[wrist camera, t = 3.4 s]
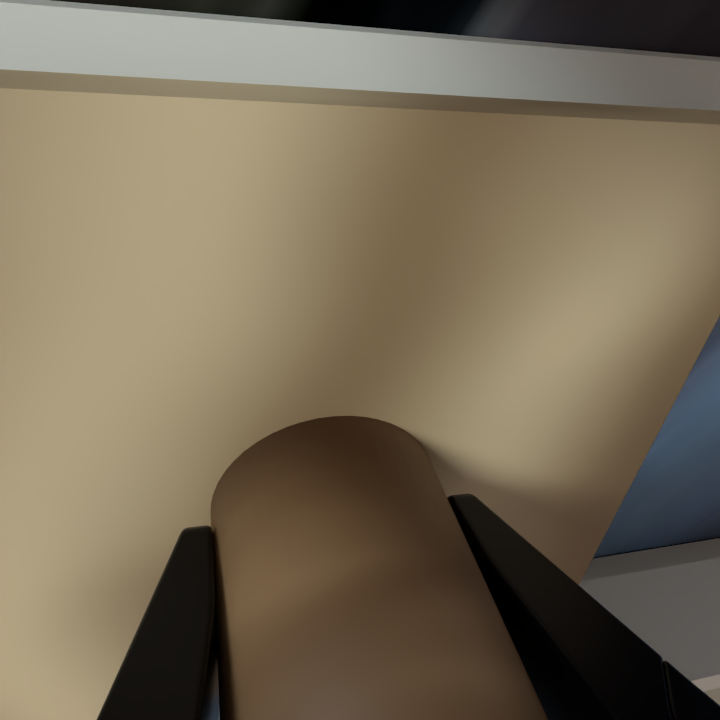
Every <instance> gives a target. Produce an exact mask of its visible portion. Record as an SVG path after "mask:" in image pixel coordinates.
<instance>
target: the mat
mask: <svg viewBox="0 0 720 720" xmlns="http://www.w3.org/2000/svg"><path fill="white" fill-rule="evenodd" d="M0 69H5V70H23V71H40V72H57V73H75V74H92V75H109V76H127V77H144V78H161V79H179V80H196V81H213V82H231V83H248V84H265V85H283V86H300V87H317V88H334V89H352V90H369V91H386V92H404V93H421V94H438V95H456V96H473V97H490V98H508V99H525V100H542V101H560V102H577V103H594V104H612V105H629V106H646V107H664V108H681V109H698V110H716V111H720V57H712V56H700V55H688V54H676V53H665V52H653V51H641V50H629V49H617V48H606V47H594V46H582V45H570V44H558V43H547V42H535V41H523V40H511V39H500V38H488V37H476V36H464V35H452V34H441V33H429V32H417V31H405V30H393V29H382V28H370V27H358V26H346V25H335V24H323V23H311V22H299V21H287V20H276V19H264V18H252V17H240V16H228V15H217V14H205V13H193V12H181V11H170V10H158V9H146V8H134V7H122V6H111V5H99V4H87V3H75V2H63V1H52V0H0Z"/></svg>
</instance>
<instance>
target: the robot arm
mask: <svg viewBox="0 0 720 720" xmlns="http://www.w3.org/2000/svg"><path fill="white" fill-rule="evenodd" d="M447 499H448V501H449V503H450V505H451V508H452V510H453V512H454V514H455V516H456V519H457V521H458V523H459V525H460V527H461V529H462V532H463V534H464V536H465V538H466V540H467V543H468V545H469V547H470V549H471V551H472V554H473V556H474V558H475V560H476V562H477V565H478V567H479V569H480V571H481V573H482V575H483V578H484V580H485V582H486V584H487V586H488V589H489V591H490V593H491V595H492V597H493V600H494V602H495V604H496V606H497V608H498V610H499V613H500V615H501V617H502V619H503V621H504V624H505V626H506V628H507V630H508V632H509V635H510V637H511V639H512V641H513V643H514V646H515V648H516V650H517V652H518V654H519V656H520V659H521V661H522V663H523V665H524V667H525V670H526V672H527V674H528V676H529V678H530V681H531V683H532V685H533V687H534V689H535V691H536V694H537V696H538V698H539V700H540V702H541V705H542V707H543V709H544V711H545V713H546V716H547V718H548V720H720V705H719V704H718V703H716V702H715V701H714V700H713V699H712V698H710V697H709V696H708V695H707V694H705V693H704V692H703V691H702V690H701V689H699V688H698V687H697V686H696V685H695V684H693V683H692V682H691V681H690V680H689V679H687V678H686V677H685V676H684V675H683V674H682V673H681V672H679V671H678V670H677V669H676V668H675V667H674V666H672V665H671V664H670V663H669V662H668V661H663V659H662V657H661V656H660V655H659V654H658V653H657V652H656V651H655V650H654V649H652V648H651V647H650V646H649V645H648V644H647V643H645V642H644V641H643V640H642V639H641V638H640V637H638V636H637V635H636V634H635V633H634V632H633V631H631V630H630V629H629V628H628V627H627V626H626V625H624V624H623V623H622V622H621V621H620V620H619V619H618V618H616V617H615V616H614V615H613V614H612V613H611V612H609V611H608V610H607V609H606V608H605V607H604V606H602V605H601V604H600V603H599V602H598V601H597V600H595V599H594V598H593V597H592V596H591V595H590V594H588V593H587V592H586V591H585V590H584V589H583V588H582V587H580V586H579V585H578V584H577V583H576V582H575V581H573V580H572V579H571V578H570V577H569V576H568V575H566V574H565V573H564V572H563V571H562V570H561V569H559V568H558V567H557V566H556V565H555V564H554V563H552V562H551V561H550V560H549V559H548V558H547V557H546V556H544V555H543V554H542V553H541V552H540V551H539V550H537V549H536V548H535V547H534V546H533V545H532V544H530V543H529V542H528V541H527V540H526V539H525V538H523V537H522V536H521V535H520V534H519V533H518V532H516V531H515V530H514V529H513V528H512V527H511V526H510V525H508V524H507V523H506V522H505V521H504V520H503V519H501V518H500V517H499V516H498V515H497V514H496V513H494V512H493V511H492V510H491V509H490V508H489V507H487V506H486V505H485V504H484V503H483V502H482V501H480V500H479V499H478V498H477V497H476V496H474V495H472V494H459V495H451V496H448V497H447ZM218 714H219V685H218V663H217V614H216V592H215V572H214V551H213V532H212V528H211V527H210V526H208V525H205V526H196V527H188V528H185V529H183V530H182V532H181V533H180V535H179V537H178V539H177V542H176V544H175V546H174V548H173V551H172V553H171V555H170V557H169V559H168V562H167V564H166V566H165V568H164V571H163V573H162V575H161V577H160V579H159V582H158V584H157V586H156V588H155V591H154V593H153V595H152V597H151V600H150V602H149V604H148V606H147V608H146V611H145V613H144V615H143V617H142V620H141V622H140V624H139V626H138V629H137V631H136V633H135V635H134V637H133V640H132V642H131V644H130V646H129V649H128V651H127V653H126V655H125V657H124V660H123V662H122V664H121V666H120V669H119V671H118V673H117V675H116V678H115V680H114V682H113V684H112V686H111V689H110V691H109V693H108V695H107V698H106V700H105V702H104V704H103V706H102V709H101V711H100V713H99V715H98V718H97V720H218Z"/></svg>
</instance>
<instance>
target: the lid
mask: <svg viewBox="0 0 720 720" xmlns="http://www.w3.org/2000/svg"><path fill="white" fill-rule="evenodd" d="M719 316H720V111H716V110H698V109H681V108H664V107H646V106H629V105H612V104H594V103H577V102H560V101H542V100H525V99H508V98H490V97H473V96H456V95H438V94H421V93H404V92H386V91H369V90H352V89H334V88H317V87H300V86H283V85H265V84H248V83H231V82H213V81H196V80H179V79H161V78H144V77H127V76H109V75H92V74H75V73H57V72H40V71H23V70H5V69H0V720H97V718H98V715H99V713H100V711H101V709H102V706H103V704H104V702H105V700H106V698H107V695H108V693H109V691H110V689H111V686H112V684H113V682H114V680H115V678H116V675H117V673H118V671H119V669H120V666H121V664H122V662H123V660H124V657H125V655H126V653H127V651H128V649H129V646H130V644H131V642H132V640H133V637H134V635H135V633H136V631H137V629H138V626H139V624H140V622H141V620H142V617H143V615H144V613H145V611H146V608H147V606H148V604H149V602H150V600H151V597H152V595H153V593H154V591H155V588H156V586H157V584H158V582H159V579H160V577H161V575H162V573H163V571H164V568H165V566H166V564H167V562H168V559H169V557H170V555H171V553H172V551H173V548H174V546H175V544H176V542H177V539H178V537H179V535H180V533H181V532H182V530H183V529H185V528H188V527H196V526H205V525H208V526H210V527H211V528H212V532H213V551H214V572H215V592H216V614H217V663H218V685H219V706H220V720H548V718H547V716H546V713H545V711H544V709H543V707H542V705H541V702H540V700H539V698H538V696H537V694H536V691H535V689H534V687H533V685H532V683H531V681H530V678H529V676H528V674H527V672H526V670H525V667H524V665H523V663H522V661H521V659H520V656H519V654H518V652H517V650H516V648H515V646H514V643H513V641H512V639H511V637H510V635H509V632H508V630H507V628H506V626H505V624H504V621H503V619H502V617H501V615H500V613H499V610H498V608H497V606H496V604H495V602H494V600H493V597H492V595H491V593H490V591H489V589H488V586H487V584H486V582H485V580H484V578H483V575H482V573H481V571H480V569H479V567H478V565H477V562H476V560H475V558H474V556H473V554H472V551H471V549H470V547H469V545H468V543H467V540H466V538H465V536H464V534H463V532H462V529H461V527H460V525H459V523H458V521H457V519H456V516H455V514H454V512H453V510H452V508H451V505H450V503H449V501H448V499H447V497H448V496H451V495H459V494H472V495H474V496H476V497H477V498H478V499H479V500H480V501H482V502H483V503H484V504H485V505H486V506H487V507H489V508H490V509H491V510H492V511H493V512H494V513H496V514H497V515H498V516H499V517H500V518H501V519H503V520H504V521H505V522H506V523H507V524H508V525H510V526H511V527H512V528H513V529H514V530H515V531H516V532H518V533H519V534H520V535H521V536H522V537H523V538H525V539H526V540H527V541H528V542H529V543H530V544H532V545H533V546H534V547H535V548H536V549H537V550H539V551H540V552H541V553H542V554H543V555H544V556H546V557H547V558H548V559H549V560H550V561H551V562H552V563H554V564H555V565H556V566H557V567H558V568H559V569H561V570H562V571H563V572H564V573H565V574H566V575H568V576H569V577H570V578H571V579H572V580H573V581H575V582H576V583H577V584H578V585H579V584H580V582H581V580H582V578H583V576H584V574H585V572H586V570H587V568H588V566H589V565H590V563H591V561H592V559H593V557H594V555H595V553H596V551H597V549H598V547H599V545H600V544H601V542H602V540H603V538H604V536H605V534H606V532H607V530H608V528H609V526H610V524H611V522H612V521H613V519H614V517H615V515H616V513H617V511H618V509H619V507H620V505H621V503H622V501H623V500H624V498H625V496H626V494H627V492H628V490H629V488H630V486H631V484H632V482H633V480H634V479H635V477H636V475H637V473H638V471H639V469H640V467H641V465H642V463H643V461H644V459H645V458H646V456H647V454H648V452H649V450H650V448H651V446H652V444H653V442H654V440H655V438H656V436H657V435H658V433H659V431H660V429H661V427H662V425H663V423H664V421H665V419H666V417H667V415H668V414H669V412H670V410H671V408H672V406H673V404H674V402H675V400H676V398H677V396H678V394H679V393H680V391H681V389H682V387H683V385H684V383H685V381H686V379H687V377H688V375H689V373H690V372H691V370H692V368H693V366H694V364H695V362H696V360H697V358H698V356H699V354H700V352H701V350H702V349H703V347H704V345H705V343H706V341H707V339H708V337H709V335H710V333H711V331H712V329H713V328H714V326H715V324H716V322H717V320H718V318H719Z"/></svg>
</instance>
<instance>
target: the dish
mask: <svg viewBox="0 0 720 720" xmlns="http://www.w3.org/2000/svg"><path fill="white" fill-rule="evenodd" d="M579 586H580V587H582V588H583V589H584V590H585V591H586V592H587V593H588V594H590V595H591V596H592V597H593V598H594V599H595V600H597V601H598V602H599V603H600V604H601V605H602V606H604V607H605V608H606V609H607V610H608V611H609V612H611V613H612V614H613V615H614V616H615V617H616V618H618V619H619V620H620V621H621V622H622V623H623V624H624V625H626V626H627V627H628V628H629V629H630V630H631V631H633V632H634V633H635V634H636V635H637V636H638V637H640V638H641V639H642V640H643V641H644V642H645V643H647V644H648V645H649V646H650V647H651V648H652V649H654V650H655V651H656V652H657V653H658V654H659V655H660V656H661V657H662V659H663V661H668V662H669V663H670V664H671V665H672V666H674V667H675V668H676V669H677V670H678V671H679V672H681V673H682V674H683V675H684V676H685V677H686V678H687V679H689V680H690V681H691V682H692V683H693V684H695V685H696V686H697V687H698V688H699V689H701V690H702V691H703V692H704V693H705V694H707V695H708V696H709V697H710V698H712V699H713V700H714V701H715V702H716V703H718V704H719V705H720V538H718V539H711V540H705V541H699V542H693V543H687V544H681V545H674V546H668V547H662V548H656V549H650V550H643V551H637V552H631V553H625V554H619V555H612V556H606V557H600V558H594V559H592V561H591V563H590V565H589V566H588V568H587V570H586V572H585V574H584V576H583V578H582V580H581V582H580V584H579Z"/></svg>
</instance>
